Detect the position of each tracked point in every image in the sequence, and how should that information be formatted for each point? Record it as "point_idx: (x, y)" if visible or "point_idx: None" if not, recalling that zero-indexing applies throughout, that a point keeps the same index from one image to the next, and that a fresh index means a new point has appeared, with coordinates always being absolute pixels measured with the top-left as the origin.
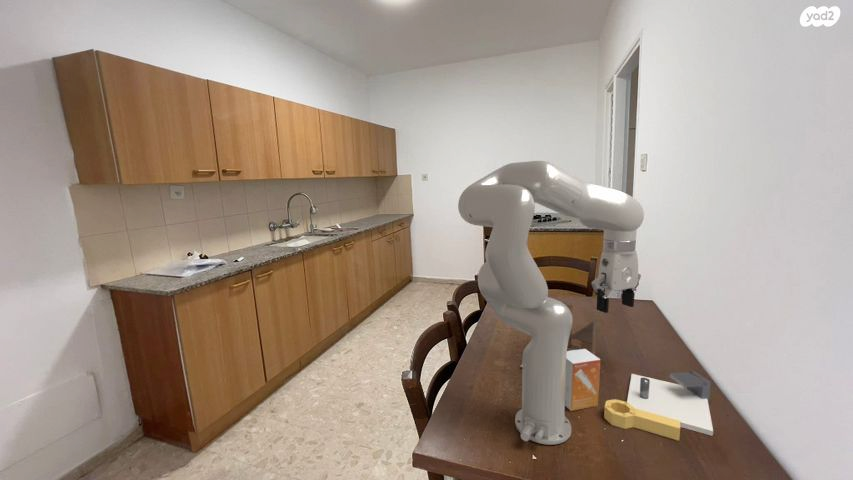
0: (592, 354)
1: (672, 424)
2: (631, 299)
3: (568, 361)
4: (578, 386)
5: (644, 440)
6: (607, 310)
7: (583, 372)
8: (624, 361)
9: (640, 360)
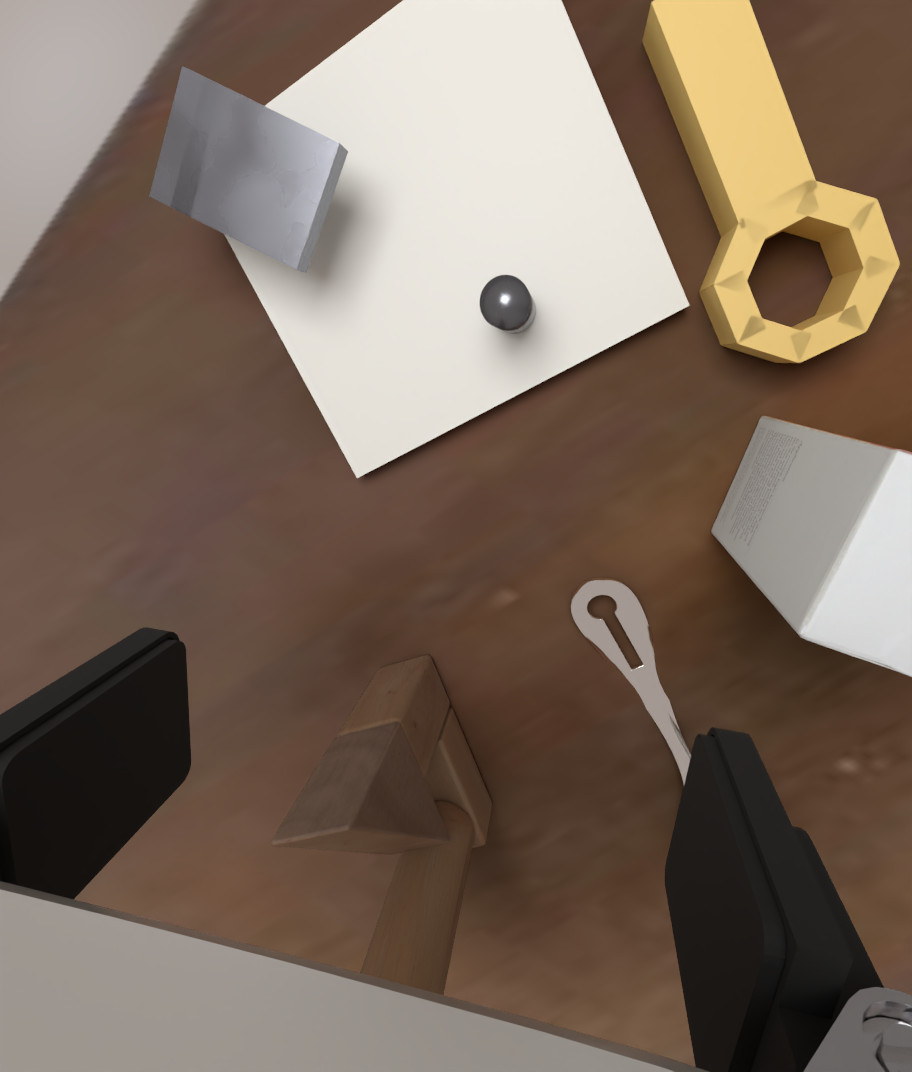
0: (863, 540)
1: (724, 2)
2: (98, 705)
3: None
4: None
5: (857, 97)
6: (742, 749)
7: None
8: (255, 579)
9: (178, 539)
